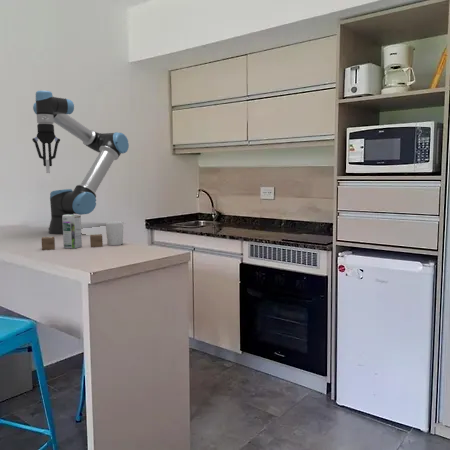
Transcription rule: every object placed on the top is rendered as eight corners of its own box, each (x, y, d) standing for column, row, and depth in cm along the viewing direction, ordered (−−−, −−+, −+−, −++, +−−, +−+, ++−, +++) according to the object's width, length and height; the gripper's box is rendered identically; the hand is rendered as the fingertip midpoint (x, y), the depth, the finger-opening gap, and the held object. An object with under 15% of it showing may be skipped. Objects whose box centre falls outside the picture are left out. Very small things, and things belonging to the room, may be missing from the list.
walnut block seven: (42, 248, 197) (42, 236, 197) (54, 247, 199) (54, 236, 198) (42, 250, 192) (41, 238, 192) (54, 249, 194) (54, 237, 193)
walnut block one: (90, 245, 203) (90, 234, 203) (102, 245, 205) (101, 233, 204) (91, 247, 199) (90, 236, 198) (102, 246, 200) (102, 235, 200)
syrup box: (63, 248, 197) (61, 215, 195) (72, 246, 202) (70, 213, 201) (73, 248, 195) (72, 215, 193) (82, 246, 201) (81, 214, 199)
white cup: (111, 246, 201) (110, 224, 199) (103, 244, 206) (102, 222, 205) (127, 244, 206) (126, 222, 205) (118, 242, 212) (118, 221, 210)
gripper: (30, 122, 213) (33, 173, 216) (59, 123, 217) (62, 173, 220) (31, 124, 220) (34, 173, 223) (60, 125, 224) (62, 172, 227)
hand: (48, 173), depth 222 cm, fingers closed
